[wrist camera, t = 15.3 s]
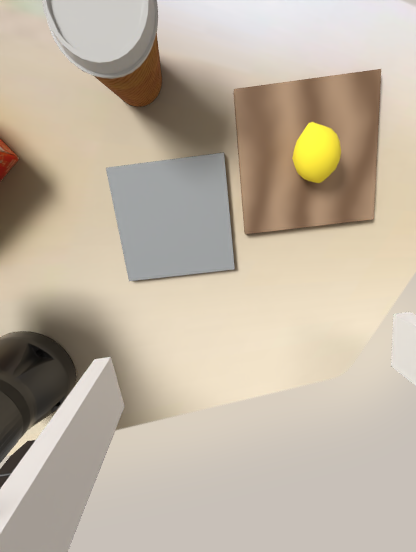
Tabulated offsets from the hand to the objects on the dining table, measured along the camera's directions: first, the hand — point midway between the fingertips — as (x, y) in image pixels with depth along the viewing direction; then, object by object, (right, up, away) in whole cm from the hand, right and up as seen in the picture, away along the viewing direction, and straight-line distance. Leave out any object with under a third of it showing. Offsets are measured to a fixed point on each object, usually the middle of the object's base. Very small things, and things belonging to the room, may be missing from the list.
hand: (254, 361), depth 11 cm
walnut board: (+11, +20, +22) cm, 32 cm away
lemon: (+11, +20, +21) cm, 31 cm away
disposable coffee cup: (-11, +29, +20) cm, 37 cm away
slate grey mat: (-7, +12, +24) cm, 28 cm away
